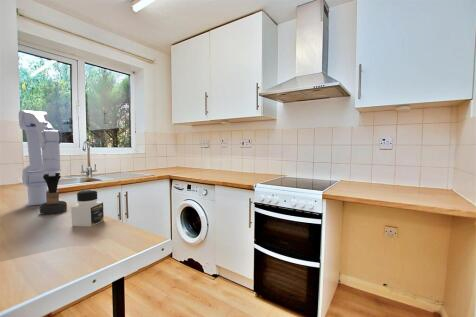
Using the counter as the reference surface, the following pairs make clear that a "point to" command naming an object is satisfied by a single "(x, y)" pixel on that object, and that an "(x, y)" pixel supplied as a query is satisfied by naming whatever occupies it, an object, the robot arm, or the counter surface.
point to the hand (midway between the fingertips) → (52, 191)
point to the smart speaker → (53, 208)
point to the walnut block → (52, 197)
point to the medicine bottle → (87, 209)
